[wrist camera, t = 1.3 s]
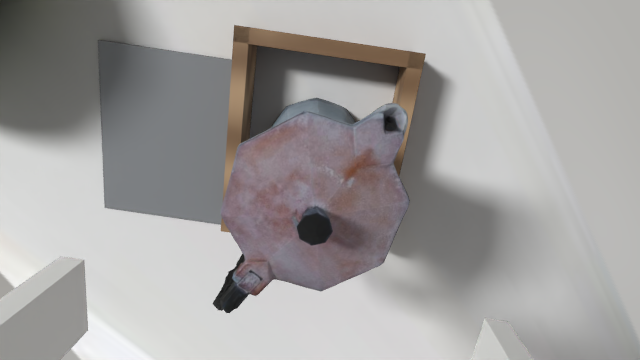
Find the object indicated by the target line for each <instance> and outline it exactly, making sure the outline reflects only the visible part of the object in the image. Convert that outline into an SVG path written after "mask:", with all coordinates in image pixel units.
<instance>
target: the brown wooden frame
mask: <svg viewBox="0 0 640 360" xmlns="http://www.w3.org/2000/svg"><path fill="white" fill-rule="evenodd" d="M257 46H264V47H270V48H277V49H284V50H290V51H297V52H304V53H310V54H317V55H324V56H330V57H337V58H344V59H351V60H357V61H364V62H371V63H377V64H384V65H391V66H397V67H400V68H399V73H398V78H397V83H396V88H395V93H394V98H393V103H396V104H398V105H399V106H401V107H402V108H403V109H405V110H406V112H407V115H408V125H407V129H406V132H405V135H404V140H403V142H402V145H401V147H400V149H399V151H398V153H397V156H396V158H395V161H394V166H395V168H396V171H397V174H398V176H399V174H400V170H401V165H402V161H403V156H404V152H405V147H406V142H407V138H408V133H409V129H410V124H411V119H412V115H413V110H414V106H415V101H416V96H417V92H418V87H419V83H420V78H421V73H422V69H423V64H424V60H425V55H426V54H423V53H417V52H410V51H403V50H397V49H390V48H383V47H377V46H370V45H363V44H357V43H350V42H343V41H337V40H330V39H323V38H317V37H310V36H303V35H297V34H290V33H283V32H277V31H270V30H263V29H257V28H250V27H243V26H237V25H234V37H233V53H232V68H231V83H230V98H229V113H228V129H227V144H226V159H225V174H224V189H223V200H224V197H225V193H226V190H227V186H228V183H229V179H230V175H231V171H232V167H233V163H234V159H235V155H236V151H237V147H238V146H239V144H241V143H243V142H245V141H247V140H249V136H250V125H251V113H252V101H253V89H254V77H255V66H256V54H257ZM221 231H224V232H230V231H229V229H228V228H227V226H226V225H225V223H224V221H223V219H222V220H221Z"/></svg>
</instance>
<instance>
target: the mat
mask: <svg viewBox="0 0 640 360" xmlns="http://www.w3.org/2000/svg"><path fill="white" fill-rule="evenodd" d="M98 49H99V75H100V101H101V126H102V152H103V177H104V203H105V208H110V209H117V210H124V211H131V212H138V213H145V214H152V215H159V216H166V217H172V218H179V219H186V220H193V221H200V222H207V223H214V224H221V220H222V216H221V214H220V211H221V207H222V204H223V189H224V174H225V159H226V144H227V129H228V113H229V98H230V83H231V68H232V60H230V59H223V58H216V57H210V56H203V55H196V54H189V53H183V52H176V51H169V50H163V49H156V48H149V47H142V46H136V45H129V44H122V43H116V42H109V41H102V40H98Z"/></svg>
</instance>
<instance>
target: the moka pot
mask: <svg viewBox="0 0 640 360" xmlns="http://www.w3.org/2000/svg"><path fill="white" fill-rule="evenodd" d="M407 125H408V115H407V112H406V110H405V109H403V108H402V107H401V106H399V105H398V104H396V103H389V104H385V105H383V106H381V107H380V108H378V109H377V110H375V111H374V112H373V113H371V114H370V115H368V116H367V117H365V118H363V119H362V120H360V121H358V122H355V121H354V119H353V118H352V117H351V115H350V114H349V113H348V111H347V110H346V109H345V108H344V107H342V106H339V105H337V104H334V103H332V102H329V101H326V100H322V99H319V98H314V99H309V100H305V101H301V102H298V103H295V104H292V105H289V106H287V107H286V108H285V109H284V110H283V112H282V113H281V114H280V116H279V117H278V119H277V120H276V121H275V122H274V124H273V125H272V127H271V128H270V129H268V130H266V131H264V132H262V133H260V134H258V135H256V136H255V137H253V138H251V139H249V140H247V141H245V142H243V143H241V144H239V146H238V147H237V151H236V155H235V159H234V163H233V167H232V171H231V175H230V179H229V183H228V186H227V190H226V193H225V197H224V200H223V204H222V207H221V211H220V214H221V216H222V219H223V221H224V223H225V225H226V226H227V228H228V229H229V231H230V232H231V234H232V236H233V238H234V239H235V241H236V242H237V244H238V245H239V247H240V249H241V251H242V253H243V254H242V256H241V257H240V259H239V261H238V262H237V266H236V267H235V268H234V269H233V270H231V271H229V273H228V276H227V277H226V279H225V284H224V285H223V287H222V289H221V291H220V292H219V294H218V296H217V297H216V299H215V301H214V302H213V305H214V306H215V307H216V308H217V309H218V310H221V311H222V310H223V309H224V311H225V312H226V313H230V312H231V311H232V310H234V309H236V308H238V307H239V305H240V304H241V303H242V302H243V301H244V300H245V298H246V297H247V296H248V295H249V294H251V295H254V296H256V295H258V294H259V293H260V292H261V291H262V290H263V289H264V288H265V287H266V286H267V285H268V284H269V283H270V282H271V281H272V280H273V279H277V280H281V281H286V282H289V283H293V284H296V285H299V286H303V287H307V288H310V289H314V290H318V291H323V290H325V289H327V288H330V287H332V286H335V285H337V284H339V283H341V282H343V281H346V280H348V279H351V278H353V277H355V276H358V275H360V274H362V273H364V272H366V271H368V270H371V269H373V268H375V267H378V266H380V265H381V264H382V263H383V262H384V261H385V259H386V256H387V254H388V252H389V249H390V247H391V244H392V242H393V240H394V237H395V235H396V233H397V230H398V228H399V226H400V223H401V221H402V219H403V217H404V215H405V213H406V211H407V209H408V205H409V201H410V200H409V197H408V195H407V192H406V190H405V188H404V186H403V184H402V182H401V180H400V178H399V176H398V174H397V171H396V168H395V166H394V161H395V158H396V156H397V153H398V151H399V149H400V147H401V145H402V142H403V140H404V135H405V132H406V129H407Z"/></svg>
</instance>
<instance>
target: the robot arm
mask: <svg viewBox="0 0 640 360" xmlns="http://www.w3.org/2000/svg"><path fill="white" fill-rule="evenodd" d="M87 331H88V321H87V302H86V284H85V266H84V260H82V259H75V258H68V257H61V256H60V257H59V258H58V259H56V260H55V261H53V262H52V263H51V264H49V265H48V266H46V267H45V268H43V269H42V270H41V271H39V272H38V273H36V274H35V275H33V276H32V277H31V278H29V279H28V280H26V281H25V282H23V283H22V284H21V285H19V286H18V287H16V288H15V289H14V290H12V291H11V292H9V293H8V294H6V295H5V296H4V297H2V298H1V299H0V360H61V359H62V358H63V356H64V355H65V354H66V353H67V352H68V351H69V350H70V349H71V348H72V347H73V346H74V345H75V344H76V343H77V341H78V340H79V339H80V338H81V337H82V336H83V335H84V334H85V333H86V332H87ZM471 360H534V359H533V358H532V356H531V355H530V353H529V352H528V350H527V349H526V347H525V346H524V344H523V343H522V341H521V340H520V338H519V337H518V335H517V334H516V332H515V331H514V329H513V328H512V326H511V325H510V323H509V322H508V321H502V320H495V319H488V318H485V319H484V322H483V325H482V328H481V332H480V335H479V338H478V341H477V344H476V347H475V350H474V353H473V356H472V359H471Z"/></svg>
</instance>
